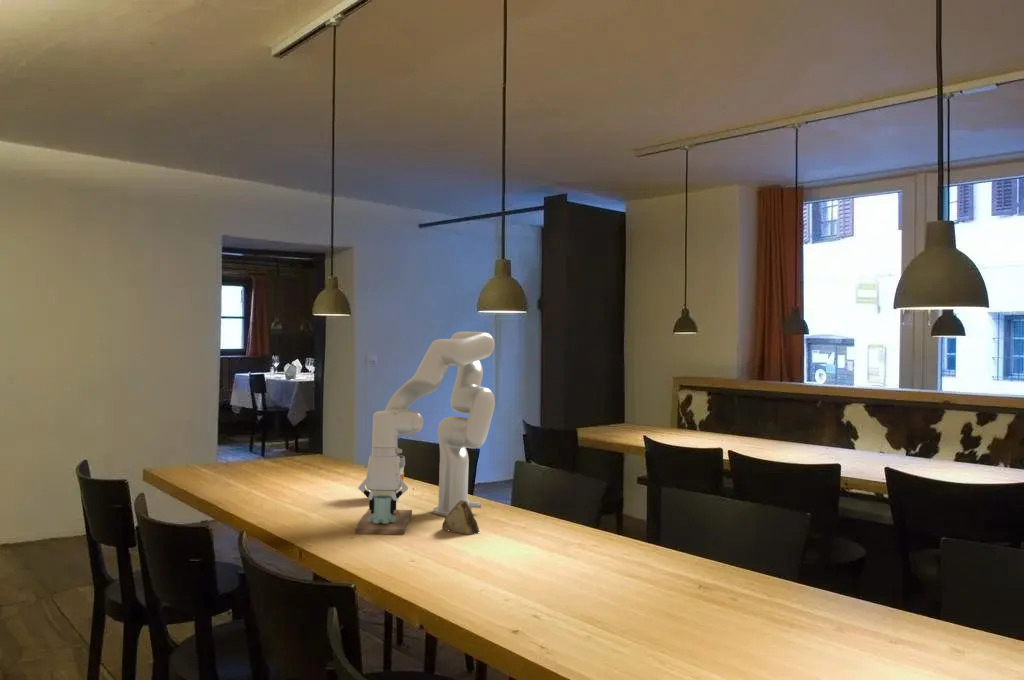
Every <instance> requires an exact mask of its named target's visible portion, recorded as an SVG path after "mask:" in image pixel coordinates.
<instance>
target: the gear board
mask: <svg viewBox="0 0 1024 680" xmlns="http://www.w3.org/2000/svg"><path fill="white" fill-rule="evenodd" d="M371 515H373V514H372V513H371V510H369V508H368V509H367V510H366V512H365V514H363V517H362V518H361V520H360V521H359V523H358V524H357V525H356V527H355V532H354V533H355V535H356V534H358V535H362V534H363V535H366V534H367V535H405V533H406V530H407V528H408V525H409V523H410V521H411V518H412V515H413V510H412V509H396V511H394V513H393V514H392V516H394V515H395V516H396V521H395V522H389V523H385V524H383V523H382V522H380V523H373V522H369V521H368V517H369V516H371Z"/></svg>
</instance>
